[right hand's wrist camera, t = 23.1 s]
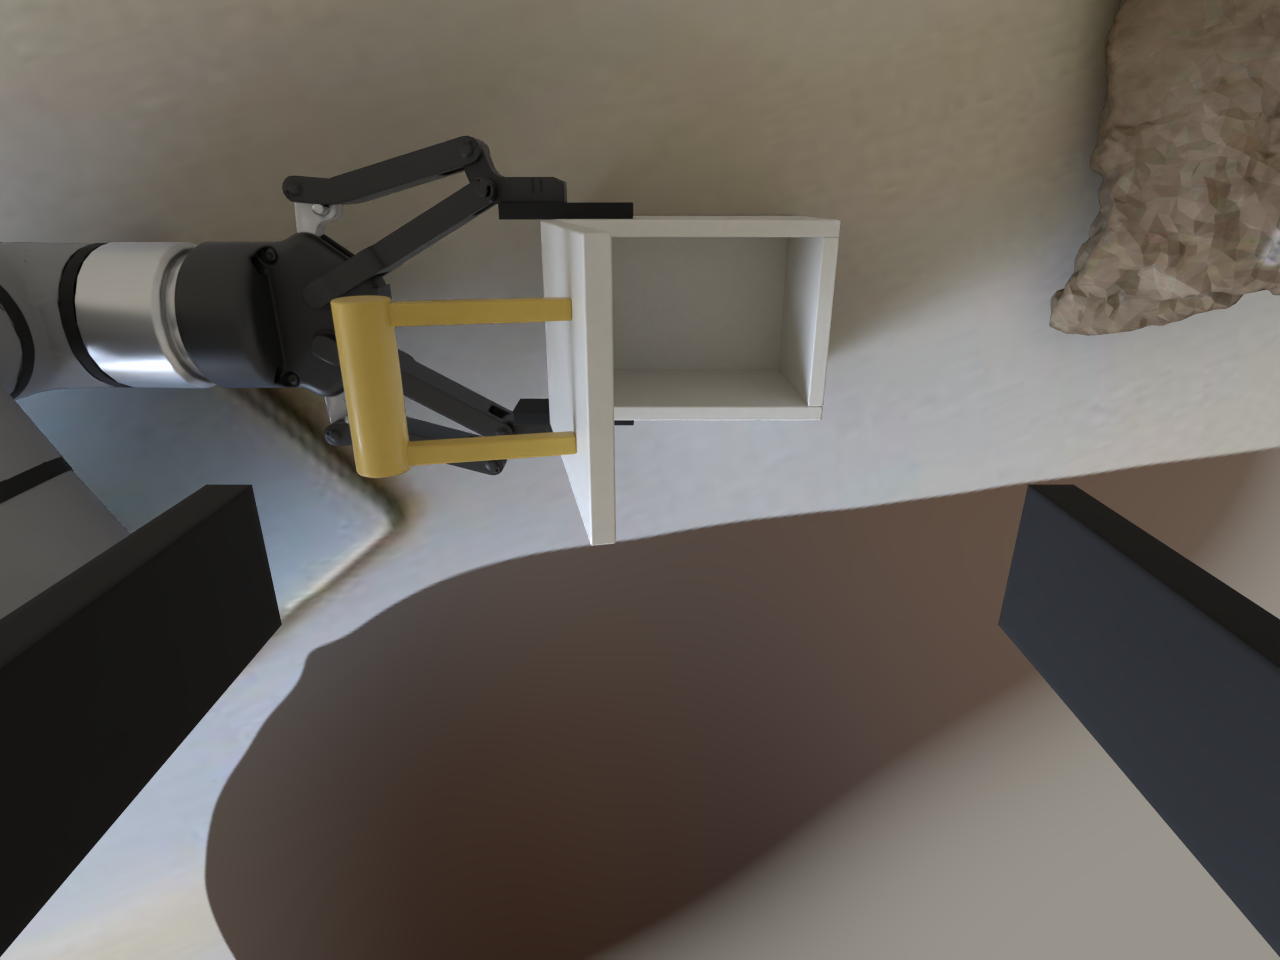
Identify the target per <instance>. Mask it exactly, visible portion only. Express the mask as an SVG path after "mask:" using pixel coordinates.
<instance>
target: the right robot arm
mask: <svg viewBox="0 0 1280 960" xmlns="http://www.w3.org/2000/svg"><path fill="white" fill-rule="evenodd" d="M281 625H282V624H281V619H280V614H279V610H278V605H277V600H276V596H275V591H274V586H273V582H272V577H271V572H270V568H269V563H268V558H267V554H266V549H265V544H264V540H263V535H262V530H261V526H260V521H259V516H258V511H257V507H256V502H255V497H254V493H253V488H252V485H205V486H204V487H202V488H201V489H199V490H198V491H196V492H195V493H193V494H191V495H190V496H188V497H187V498H185V499H184V500H182V501H181V502H179V503H178V504H176V505H175V506H173V507H172V508H170V509H169V510H167V511H165V512H164V513H162V514H161V515H159V516H158V517H156V518H155V519H153V520H152V521H150V522H149V523H147V524H146V525H144V526H143V527H141V528H139V529H138V530H136V531H135V532H133V533H132V534H130V535H129V536H127V537H126V538H124V539H123V540H121V541H120V542H118V543H117V544H115V545H113V546H112V547H110V548H109V549H107V550H106V551H104V552H103V553H101V554H100V555H98V556H97V557H95V558H94V559H92V560H91V561H89V562H87V563H86V564H84V565H83V566H81V567H80V568H78V569H77V570H75V571H74V572H72V573H71V574H69V575H68V576H66V577H65V578H63V579H61V580H60V581H58V582H57V583H55V584H54V585H52V586H51V587H49V588H48V589H46V590H45V591H43V592H42V593H40V594H39V595H37V596H35V597H34V598H32V599H31V600H29V601H28V602H26V603H25V604H23V605H22V606H20V607H19V608H17V609H16V610H14V611H13V612H11V613H9V614H8V615H6V616H5V617H3V618H2V619H0V957H1V955H2V954H3V953H4V952H5V951H6V950H7V948H8V947H9V946H10V945H11V944H12V942H13V941H14V940H15V939H16V938H17V937H18V935H19V934H20V933H21V932H22V931H23V929H24V928H25V927H26V926H27V925H28V924H29V922H30V921H31V920H32V919H33V918H34V916H35V915H36V914H37V913H38V912H39V911H40V909H41V908H42V907H43V906H44V905H45V904H46V902H47V901H48V900H49V899H50V898H51V896H52V895H53V894H54V893H55V892H56V891H57V889H58V888H59V887H60V886H61V885H62V883H63V882H64V881H65V880H66V879H67V878H68V876H69V875H70V874H71V873H72V872H73V870H74V869H75V868H76V867H77V866H78V865H79V863H80V862H81V861H82V860H83V859H84V857H85V856H86V855H87V854H88V853H89V852H90V850H91V849H92V848H93V847H94V846H95V844H96V843H97V842H98V841H99V840H100V839H101V837H102V836H103V835H104V834H105V833H106V831H107V830H108V829H109V828H110V827H111V826H112V824H113V823H114V822H115V821H116V820H117V818H118V817H119V816H120V815H121V814H122V813H123V811H124V810H125V809H126V808H127V807H128V805H129V804H130V803H131V802H132V801H133V800H134V798H135V797H136V796H137V795H138V794H139V792H140V791H141V790H142V789H143V788H144V787H145V785H146V784H147V783H148V782H149V781H150V779H151V778H152V777H153V776H154V775H155V774H156V772H157V771H158V770H159V769H160V768H161V766H162V765H163V764H164V763H165V762H166V761H167V759H168V758H169V757H170V756H171V755H172V753H173V752H174V751H175V750H176V749H177V748H178V746H179V745H180V744H181V743H182V742H183V740H184V739H185V738H186V737H187V736H188V735H189V733H190V732H191V731H192V730H193V729H194V727H195V726H196V725H197V724H198V723H199V722H200V720H201V719H202V718H203V717H204V716H205V714H206V713H207V712H208V711H209V710H210V709H211V707H212V706H213V705H214V704H215V703H216V701H217V700H218V699H219V698H220V697H221V696H222V694H223V693H224V692H225V691H226V690H227V689H228V687H229V686H230V685H231V684H232V683H233V681H234V680H235V679H236V678H237V677H238V676H239V674H240V673H241V672H242V671H243V670H244V668H245V667H246V666H247V665H248V664H249V663H250V661H251V660H252V659H253V658H254V657H255V655H256V654H257V653H258V652H259V651H260V650H261V648H262V647H263V646H264V645H265V644H266V642H267V641H268V640H269V639H270V638H271V637H272V635H273V634H274V633H275V632H276V631H277V629H278V628H279V627H280V626H281ZM998 625H999V626H1000V627H1001V628H1002V629H1003V631H1004V632H1005V633H1006V634H1007V635H1008V637H1009V638H1010V639H1011V640H1012V641H1013V642H1014V644H1015V645H1016V646H1017V647H1018V648H1019V649H1020V651H1021V652H1022V653H1023V654H1024V655H1025V657H1026V658H1027V659H1028V660H1029V661H1030V662H1031V664H1032V665H1033V666H1034V667H1035V668H1036V670H1037V671H1038V672H1039V673H1040V674H1041V675H1042V677H1043V678H1044V679H1045V680H1046V681H1047V683H1048V684H1049V685H1050V686H1051V687H1052V689H1053V690H1054V691H1055V692H1056V693H1057V694H1058V696H1059V697H1060V698H1061V699H1062V700H1063V701H1064V703H1065V704H1066V705H1067V706H1068V707H1069V709H1070V710H1071V711H1072V712H1073V713H1074V714H1075V716H1076V717H1077V718H1078V719H1079V720H1080V722H1081V723H1082V724H1083V725H1084V726H1085V727H1086V729H1087V730H1088V731H1089V732H1090V733H1091V734H1092V736H1093V737H1094V738H1095V739H1096V740H1097V742H1098V743H1099V744H1100V745H1101V746H1102V748H1103V749H1104V750H1105V751H1106V752H1107V753H1108V755H1109V756H1110V757H1111V758H1112V759H1113V760H1114V762H1115V763H1116V764H1117V765H1118V766H1119V768H1120V769H1121V770H1122V771H1123V772H1124V774H1125V775H1126V776H1127V777H1128V778H1129V779H1130V781H1131V782H1132V783H1133V784H1134V785H1135V787H1136V788H1137V789H1138V790H1139V791H1140V792H1141V794H1142V795H1143V796H1144V797H1145V798H1146V800H1147V801H1148V802H1149V803H1150V804H1151V805H1152V807H1153V808H1154V809H1155V810H1156V811H1157V813H1158V814H1159V815H1160V816H1161V817H1162V818H1163V820H1164V821H1165V822H1166V823H1167V824H1168V826H1169V827H1170V828H1171V829H1172V830H1173V831H1174V833H1175V834H1176V835H1177V836H1178V837H1179V839H1180V840H1181V841H1182V842H1183V843H1184V844H1185V846H1186V847H1187V848H1188V849H1189V850H1190V851H1191V853H1192V854H1193V855H1194V856H1195V857H1196V859H1197V860H1198V861H1199V862H1200V863H1201V864H1202V866H1203V867H1204V868H1205V869H1206V870H1207V872H1208V873H1209V874H1210V875H1211V876H1212V878H1213V879H1214V880H1215V881H1216V882H1217V883H1218V885H1219V886H1220V887H1221V888H1222V889H1223V891H1224V892H1225V893H1226V894H1227V895H1228V896H1229V898H1230V899H1231V900H1232V901H1233V902H1234V903H1235V905H1236V906H1237V907H1238V908H1239V909H1240V911H1241V912H1242V913H1243V914H1244V915H1245V916H1246V918H1247V919H1248V920H1249V921H1250V922H1251V924H1252V925H1253V926H1254V927H1255V928H1256V929H1257V931H1258V932H1259V933H1260V934H1261V935H1262V937H1263V938H1264V939H1265V940H1266V941H1267V942H1268V944H1269V945H1270V946H1271V947H1272V948H1273V950H1274V951H1275V952H1276V953H1277V954H1278V955H1279V957H1280V619H1278V618H1277V617H1275V616H1274V615H1272V614H1271V613H1269V612H1267V611H1266V610H1264V609H1263V608H1261V607H1260V606H1258V605H1257V604H1255V603H1254V602H1252V601H1251V600H1249V599H1248V598H1246V597H1244V596H1243V595H1241V594H1240V593H1238V592H1237V591H1235V590H1234V589H1232V588H1231V587H1229V586H1228V585H1226V584H1225V583H1223V582H1222V581H1220V580H1218V579H1217V578H1215V577H1214V576H1212V575H1211V574H1209V573H1208V572H1206V571H1205V570H1203V569H1202V568H1200V567H1199V566H1197V565H1196V564H1194V563H1193V562H1191V561H1189V560H1188V559H1186V558H1185V557H1183V556H1182V555H1180V554H1179V553H1177V552H1176V551H1174V550H1173V549H1171V548H1170V547H1168V546H1167V545H1165V544H1163V543H1162V542H1160V541H1159V540H1157V539H1156V538H1154V537H1153V536H1151V535H1150V534H1148V533H1147V532H1145V531H1144V530H1142V529H1141V528H1139V527H1137V526H1136V525H1134V524H1133V523H1131V522H1130V521H1128V520H1127V519H1125V518H1124V517H1122V516H1121V515H1119V514H1118V513H1116V512H1115V511H1113V510H1111V509H1110V508H1108V507H1107V506H1105V505H1104V504H1102V503H1101V502H1099V501H1098V500H1096V499H1095V498H1093V497H1092V496H1090V495H1089V494H1087V493H1085V492H1084V491H1082V490H1081V489H1079V488H1078V487H1076V486H1075V485H1028V488H1027V493H1026V498H1025V502H1024V507H1023V512H1022V516H1021V521H1020V526H1019V530H1018V535H1017V540H1016V544H1015V549H1014V554H1013V558H1012V563H1011V568H1010V572H1009V577H1008V582H1007V586H1006V591H1005V596H1004V601H1003V605H1002V610H1001V615H1000V619H999V624H998Z"/></svg>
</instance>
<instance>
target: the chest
mask: <svg viewBox="0 0 1280 960" xmlns="http://www.w3.org/2000/svg"><path fill="white" fill-rule="evenodd" d="M554 220H559V221H563V222H567V223H571V224H575V225H579V226H584V227H588V228H592V229H596V230H600V231H604V232H608V233H611V235H612V300H613V371H614V420H821V419H822V410H823V407H822V406H823V401H824V391H825V380H826V370H827V360H828V349H829V339H830V329H831V318H832V308H833V298H834V287H835V277H836V267H837V256H838V246H839V235H840V224H841V220H837V219H827V218H817V217H806V216H633V219H554Z"/></svg>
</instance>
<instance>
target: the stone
mask: <svg viewBox="0 0 1280 960" xmlns="http://www.w3.org/2000/svg"><path fill="white" fill-rule="evenodd" d="M1120 1H1121V4H1120V9H1119V10H1118V12H1117V13H1116V15H1115V19H1114V23H1113V26H1112V28H1111V30H1110V32H1109V34H1108V36H1107V38H1106V40H1105V56H1106V62H1107V70H1106V73H1105V75H1106V78H1107V81H1108V92H1107V101H1106V103H1105V106H1104V108H1103V111H1102V113H1101V115H1100V118H1099V128H1100V130H1099V136H1098V141H1097V144H1096V147H1095V149H1094V151H1093V153H1092V155H1091V160H1090V167H1091V170H1093V171H1095V172H1096V173H1098V174H1100V175H1102V176H1103V179H1104V180H1103V182H1102V185H1101V187H1100V189H1099V202H1100V205H1101V208H1100V212H1099V213H1098V215H1097V217H1096V218H1095V220H1094V222H1093V223H1092V225H1091V226H1090V232H1089V236H1090V238H1089V239H1088V240H1087V241H1086V242H1085V243H1084V244H1082V246H1081V248H1080V250H1079V252H1078V254H1077V256H1076V258H1075V271H1074V274H1073V275H1072V276H1071V277H1070V279H1069V280H1068V282H1067V283H1066V285H1065V288H1064V289H1061V290H1058V291H1057V292H1056V293H1055V294H1054V296H1053V297H1052V298H1051V317H1050V327H1053V328H1055V329H1057V330H1060V331H1062V332H1064V333H1067V334H1082V335H1101V334H1109V333H1118V332H1126V331H1132V330H1136V329H1140V328H1143V327H1145V326H1150V325H1160V326H1163V325H1165V324H1168V323H1170V322H1175V321H1180V320H1183V319H1185V318H1187V317H1189V316H1192V315H1194V314H1197V313H1202V312H1207V311H1210V310H1215V309H1225V308H1229V307H1230V306H1232V305H1234V304H1236V303H1237V301H1238V300H1239V299H1240V298H1241V297H1242V296H1243V295H1244V294H1247V293H1252V292H1257V291H1261V290H1269V291H1270V292H1271V293H1272V294H1273V295H1280V0H1120Z"/></svg>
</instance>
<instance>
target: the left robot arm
mask: <svg viewBox="0 0 1280 960" xmlns="http://www.w3.org/2000/svg"><path fill="white" fill-rule="evenodd" d="M462 171H465V172H466V175H467V177H468V180H469V182H470V183H469V184H468V185H466V186H465V187H463V188H462V189H460V190H459V191H457V192H455V193H454V194H452V195H451V196H449V197H448V198H446V199H444V200H443V201H441V202H440V203H438V204H437V205H435V206H434V207H432V208H430V209H429V210H427V211H426V212H424V213H423V214H421V215H419V216H418V217H416V218H415V219H413V220H412V221H410V222H409V223H407V224H405V225H404V226H402V227H401V228H399V229H398V230H396V231H394V232H393V233H391V234H390V235H388V236H387V237H385V238H384V239H382V240H380V241H379V242H377V243H376V244H374V245H372V246H370V247H368V248H366V249H364V250H362V251H361V252H359V253H357V254H356V255H354V254H353V253H351V252H350V251H348V250H347V249H345V248H344V247H342V246H341V245H339V244H338V243H336V242H335V241H334V240H332V239H331V238H329V237H328V236H326V235H324V227H325V225H326V224H327V223H328V222H330V221H335V220H338V219H339V218H340V217H341V216H342V213H343V205H347V204H358V203H362V202H366V201H369V200H373V199H376V198H379V197H382V196H385V195H389V194H392V193H395V192H398V191H401V190H405V189H408V188H411V187H414V186H418V185H421V184H424V183H427V182H430V181H434V180H437V179H440V178H443V177H446V176H450V175H453V174H456V173H459V172H462ZM282 189H283V192H284V194H285V196H286V197H287V198H288V199H289V200H290V201H293V202H294V210H295V221H296V232H297V233H296V234H294V235H292V236H291V237H289V238H288V239H286V240H284V241H281V242H205V243H202V244H200V245H196V244H194V243H191V242H110V243H95V244H71V243H30V242H0V619H2V618H3V617H5V616H6V615H8V614H9V613H11V612H13V611H14V610H16V609H17V608H19V607H20V606H22V605H23V604H25V603H26V602H28V601H29V600H31V599H32V598H34V597H35V596H37V595H39V594H40V593H42V592H43V591H45V590H46V589H48V588H49V587H51V586H52V585H54V584H55V583H57V582H58V581H60V580H61V579H63V578H65V577H66V576H68V575H69V574H71V573H72V572H74V571H75V570H77V569H78V568H80V567H81V566H83V565H84V564H86V563H87V562H89V561H91V560H92V559H94V558H95V557H97V556H98V555H100V554H101V553H103V552H104V551H106V550H107V549H109V548H110V547H112V546H113V545H115V544H117V543H118V542H120V541H121V540H123V539H124V538H126V537H127V536H129V535H130V534H129V533H128V531H127V530H126V529H125V528H124V527H123V526H122V525H121V524H120V523H119V521H118V520H117V519H116V518H115V517H114V516H113V515H112V514H111V513H110V512H109V510H108V509H107V508H106V507H105V506H104V505H103V504H102V503H101V502H100V501H99V499H98V498H97V497H96V496H95V495H94V494H93V493H92V492H91V491H90V490H89V488H88V487H87V486H86V485H85V484H84V483H83V482H82V481H81V480H80V479H79V477H78V476H77V475H76V474H75V473H74V472H73V471H74V470H72V467H71V466H70V465H69V464H68V463H67V462H66V461H65V460H64V458H63V457H62V455H61V454H60V453H59V452H58V451H57V450H56V448H55V447H54V446H53V445H52V444H51V443H50V441H49V440H48V439H47V438H46V437H45V436H44V434H43V433H42V432H41V431H40V430H39V429H38V427H37V426H36V425H35V424H34V423H33V422H32V420H31V419H30V418H29V417H28V416H27V415H26V413H25V412H24V411H23V410H22V409H21V408H20V406H19V405H18V404H17V403H16V402H15V401H14V400H17V399H20V398H23V397H26V396H29V395H32V394H36V393H39V392H43V391H47V390H53V389H63V388H94V387H152V388H210V387H214V386H216V385H218V386H221V387H225V388H304V389H307V390H310V391H313V392H315V393H316V394H318V395H321V396H324V400H325V404H326V408H327V412H328V416H329V420H330V425H329V426H328V427H327V428H326V429H325V431H324V437H325V439H326V441H327V442H328V443H329V444H331V445H334V446H343V445H353V444H352V438H351V431H350V425H349V418H348V412H347V405H346V399H345V393H344V386H343V380H342V373H341V367H340V360H339V354H338V348H337V341H336V335H335V328H334V322H333V315H332V309H331V300H333V299H336V298H341V297H349V296H367V295H374V296H386V297H389V298H391V290H390V284H386V283H385V281H384V279H383V276H385V275H386V274H388V273H389V272H391V271H393V270H394V269H396V268H397V267H399V266H400V265H402V264H403V263H404V262H405V261H407V260H408V259H410V258H412V257H413V256H415V255H416V254H418V253H420V252H421V251H423V250H424V249H426V248H428V247H429V246H431V245H432V244H434V243H436V242H437V241H439V240H440V239H442V238H443V237H445V236H447V235H448V234H450V233H451V232H453V231H455V230H456V229H458V228H459V227H461V226H463V225H464V224H466V223H467V222H469V221H471V220H472V219H474V218H475V217H477V216H478V215H480V214H482V213H483V212H485V211H486V210H488V209H490V208H491V207H493V206H494V205H496V204H498V207H499V219H633V203H567V191H566V182H564V181H562V180H560V179H557V178H554V177H504V176H502V175H500V174H499V173H498V172H497V170H496V169H495V167H494V164H493V162H492V159H491V157H490V152H489V148H488V146H487V145H486V144H485V143H484V142H483V141H480V140H478V139H476V138H473V137H470V136H462V137H459V138H455V139H452V140H449V141H446V142H443V143H440V144H437V145H433V146H430V147H427V148H424V149H421V150H418V151H414V152H411V153H408V154H405V155H402V156H399V157H395V158H392V159H389V160H386V161H383V162H380V163H377V164H373V165H370V166H367V167H364V168H361V169H358V170H354V171H351V172H348V173H345V174H342V175H339V176H335V177H332V178H317V177H304V176H289V177H287V178H286V179H285V180H284V182H283V186H282ZM391 299H392V298H391ZM395 331H396V330H395ZM396 339H397V338H396ZM398 355H399V363H400V371H401V380H402V388H403V395H404V396H406V397H408V398H410V399H412V400H414V401H416V402H418V403H420V404H422V405H424V406H426V407H428V408H429V409H431V410H433V411H435V412H437V413H439V414H441V415H443V416H445V417H447V418H449V419H451V420H453V421H455V422H457V423H459V424H461V425H463V426H465V427H467V428H469V429H471V430H473V431H475V432H476V433H478V434H480V435H482V436H479V435H475V434H471V433H467V432H464V431H460V430H456V429H452V428H448V427H444V426H440V425H436V424H433V423H429V422H425V421H421V420H417V419H413V418H409V417H406V420H407V428H408V436H409V441H424V440H440V439H456V438H471V437H483V436H484V437H487V436H503V435H519V434H534V433H550V432H553V430H552V427H551V424H550V411H549V399H520V400H519V402H518V404H517V405H516V407H515V409H514V410H513V412H512V411H510V410H508V409H506V408H504V407H502V406H500V405H498V404H497V403H495V402H493V401H491V400H489V399H487V398H485V397H483V396H481V395H479V394H477V393H475V392H473V391H472V390H470V389H468V388H466V387H464V386H462V385H460V384H458V383H456V382H454V381H452V380H450V379H449V378H447V377H445V376H443V375H441V374H439V373H437V372H435V371H433V370H431V369H429V368H427V367H426V366H424V365H422V364H420V363H418V362H416V361H415V360H414V359H413V357H411V356H410V355H409V354H407V353H405V352H403V351H401V350H399V349H398ZM614 425H634V420H614ZM507 460H508V459H499V460H485V461H471V462H457V463H446V464H450V465H454V466H458V467H462V468H466V469H470V470H473V471H477V472H481V473H485V474H489V475H497V474H499V473H500V472H501V471H502V470H503V468H504V466H505V464H506V462H507Z"/></svg>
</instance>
